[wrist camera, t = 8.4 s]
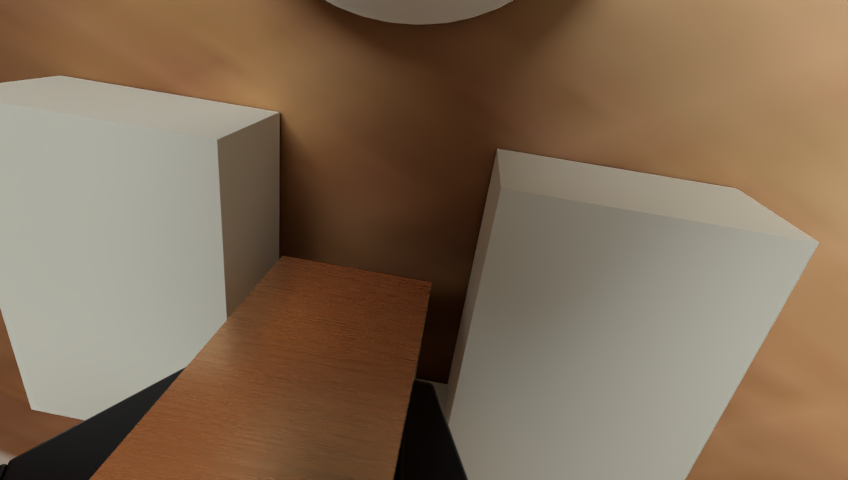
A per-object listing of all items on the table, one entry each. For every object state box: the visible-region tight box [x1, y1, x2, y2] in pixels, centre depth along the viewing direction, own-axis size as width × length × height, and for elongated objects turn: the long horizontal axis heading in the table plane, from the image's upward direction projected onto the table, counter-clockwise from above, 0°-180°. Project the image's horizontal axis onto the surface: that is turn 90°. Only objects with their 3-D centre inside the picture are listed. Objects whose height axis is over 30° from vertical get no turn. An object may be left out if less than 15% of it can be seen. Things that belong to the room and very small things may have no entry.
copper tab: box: [89, 255, 432, 480], centre depth 7 cm, size 3×3×7 cm
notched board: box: [0, 76, 819, 480], centre depth 10 cm, size 14×7×2 cm, turn 82°
